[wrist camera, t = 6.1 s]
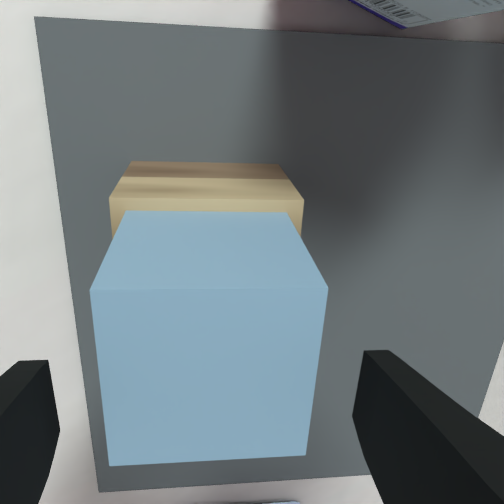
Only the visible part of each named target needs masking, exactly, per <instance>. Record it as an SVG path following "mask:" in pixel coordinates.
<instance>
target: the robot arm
mask: <svg viewBox="0 0 504 504" xmlns="http://www.w3.org/2000/svg"><path fill="white" fill-rule="evenodd" d="M352 418H353V422H354V425H355V429H356V432H357V436H358V440H359V443H360V446H361V449H362V453H363V456H364V459H365V461H366V463H367V466H368V468H369V471H370V473H371V475H372V478H373V480H374V482H375V485H376V487H377V489H378V492H379V494H380V496H381V499H382V501H383V503H384V504H504V436H503V435H501V434H500V433H498V432H497V431H495V430H494V429H492V428H491V427H490V426H488V425H487V424H485V423H484V422H482V421H481V420H480V419H478V418H477V417H476V416H474V415H473V414H471V413H470V412H469V411H467V410H466V409H465V408H463V407H462V406H461V405H459V404H458V403H457V402H455V401H454V400H453V399H451V398H450V397H449V396H448V395H446V394H445V393H444V392H442V391H441V390H440V389H439V388H437V387H436V386H435V385H433V384H432V383H431V382H430V381H428V380H427V379H426V378H425V377H423V376H422V375H421V374H419V373H418V372H417V371H416V370H414V369H413V368H412V367H411V366H409V365H408V364H407V363H406V362H404V361H403V360H402V359H400V358H399V357H398V356H396V355H395V354H394V353H392V352H391V351H389V350H364V352H363V358H362V363H361V369H360V374H359V380H358V385H357V391H356V396H355V402H354V407H353V413H352ZM59 433H60V426H59V420H58V415H57V409H56V403H55V397H54V391H53V386H52V380H51V374H50V368H49V362H48V360H30V361H18V362H17V363H16V364H14V365H13V366H12V367H11V368H10V369H8V370H7V371H6V372H5V373H4V374H2V375H1V376H0V504H38V503H39V500H40V498H41V495H42V492H43V490H44V487H45V484H46V482H47V479H48V476H49V473H50V469H51V465H52V461H53V458H54V454H55V450H56V446H57V441H58V437H59ZM264 504H300V503H299V502H296V501H292V502H278V503H264Z"/></svg>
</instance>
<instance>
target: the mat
mask: <svg viewBox="0 0 504 504" xmlns="http://www.w3.org/2000/svg"><path fill="white" fill-rule="evenodd" d="M34 20H35V27H36V34H37V42H38V49H39V56H40V64H41V71H42V78H43V86H44V93H45V100H46V108H47V115H48V122H49V130H50V137H51V144H52V152H53V159H54V166H55V174H56V181H57V188H58V196H59V203H60V211H61V218H62V225H63V233H64V240H65V247H66V255H67V262H68V269H69V277H70V284H71V291H72V299H73V306H74V313H75V321H76V328H77V335H78V343H79V350H80V357H81V365H82V372H83V379H84V387H85V394H86V401H87V409H88V416H89V423H90V431H91V438H92V445H93V453H94V460H95V467H96V475H97V482H98V489H99V492H114V491H129V490H144V489H160V488H175V487H190V486H205V485H221V484H236V483H251V482H266V481H282V480H297V479H312V478H328V477H343V476H358V475H371V473H370V471H369V468H368V466H367V463H366V461H365V459H364V456H363V453H362V449H361V446H360V443H359V440H358V436H357V432H356V429H355V425H354V422H353V418H352V413H353V407H354V402H355V396H356V391H357V385H358V380H359V374H360V369H361V363H362V358H363V352H364V350H389V351H391V352H392V353H394V354H395V355H396V356H398V357H399V358H400V359H402V360H403V361H404V362H406V363H407V364H408V365H409V366H411V367H412V368H413V369H414V370H416V371H417V372H418V373H419V374H421V375H422V376H423V377H425V378H426V379H427V380H428V381H430V382H431V383H432V384H433V385H435V386H436V387H437V388H439V389H440V390H441V391H442V392H444V393H445V394H446V395H448V396H449V397H450V398H451V399H453V400H454V401H455V402H457V403H458V404H459V405H461V406H462V407H463V408H465V409H466V410H467V411H469V412H470V413H471V414H473V415H474V416H476V417H477V418H478V416H479V413H480V410H481V407H482V404H483V401H484V398H485V395H486V392H487V389H488V386H489V383H490V380H491V377H492V374H493V371H494V368H495V365H496V362H497V359H498V356H499V353H500V350H501V347H502V344H503V341H504V43H488V42H471V41H453V40H436V39H418V38H401V37H383V36H366V35H349V34H331V33H314V32H296V31H279V30H261V29H244V28H227V27H209V26H192V25H174V24H157V23H140V22H122V21H105V20H87V19H70V18H52V17H35V16H34ZM131 161H161V162H209V163H256V164H279V166H280V167H281V168H282V170H283V171H284V173H285V174H286V175H287V177H288V178H289V180H290V181H291V182H292V184H293V185H294V187H295V188H296V189H297V191H298V192H299V194H300V195H301V196H302V198H303V199H304V207H303V217H302V227H301V239H302V241H303V243H304V244H305V246H306V248H307V250H308V252H309V254H310V255H311V257H312V259H313V261H314V263H315V264H316V266H317V268H318V270H319V272H320V273H321V275H322V277H323V279H324V281H325V282H326V284H327V286H328V295H327V302H326V310H325V317H324V324H323V332H322V339H321V346H320V354H319V361H318V368H317V375H316V383H315V390H314V397H313V405H312V412H311V419H310V427H309V434H308V441H307V449H306V455H302V456H284V457H266V458H248V459H230V460H212V461H194V462H176V463H158V464H141V465H123V466H109V459H108V450H107V441H106V432H105V423H104V414H103V406H102V397H101V388H100V379H99V370H98V361H97V352H96V343H95V334H94V325H93V316H92V307H91V299H90V288H91V286H92V284H93V281H94V279H95V277H96V275H97V273H98V270H99V268H100V266H101V264H102V262H103V260H104V257H105V255H106V253H107V251H108V249H109V246H110V244H111V242H112V240H113V239H112V228H111V217H110V205H109V197H110V195H111V193H112V192H113V190H114V189H115V187H116V185H117V184H118V182H119V180H120V179H121V177H122V176H123V174H124V172H125V171H126V169H127V167H128V166H129V164H130V163H131Z"/></svg>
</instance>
